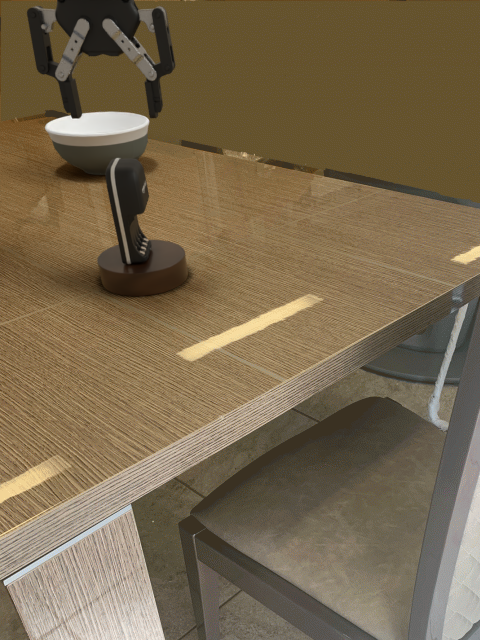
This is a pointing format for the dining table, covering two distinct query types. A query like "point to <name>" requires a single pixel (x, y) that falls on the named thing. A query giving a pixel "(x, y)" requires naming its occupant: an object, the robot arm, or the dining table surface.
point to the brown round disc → (144, 270)
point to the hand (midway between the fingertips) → (116, 117)
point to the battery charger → (128, 207)
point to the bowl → (99, 139)
